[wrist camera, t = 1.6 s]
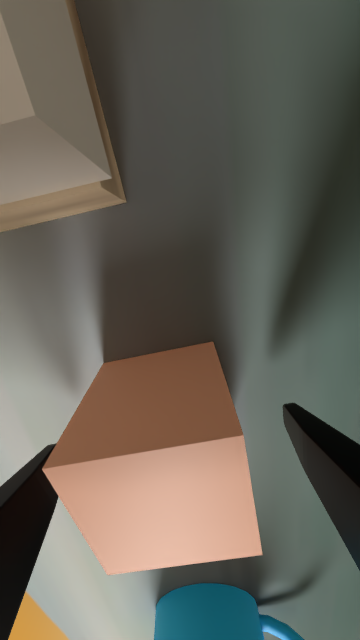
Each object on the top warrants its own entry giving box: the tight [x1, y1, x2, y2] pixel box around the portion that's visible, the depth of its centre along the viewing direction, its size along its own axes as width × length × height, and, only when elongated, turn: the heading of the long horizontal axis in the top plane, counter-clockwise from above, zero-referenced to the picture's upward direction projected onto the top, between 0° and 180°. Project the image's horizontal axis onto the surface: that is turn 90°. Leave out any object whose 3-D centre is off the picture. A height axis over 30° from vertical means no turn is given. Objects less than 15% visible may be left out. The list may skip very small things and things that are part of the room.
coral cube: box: [42, 342, 262, 575], centre depth 9 cm, size 5×5×5 cm
